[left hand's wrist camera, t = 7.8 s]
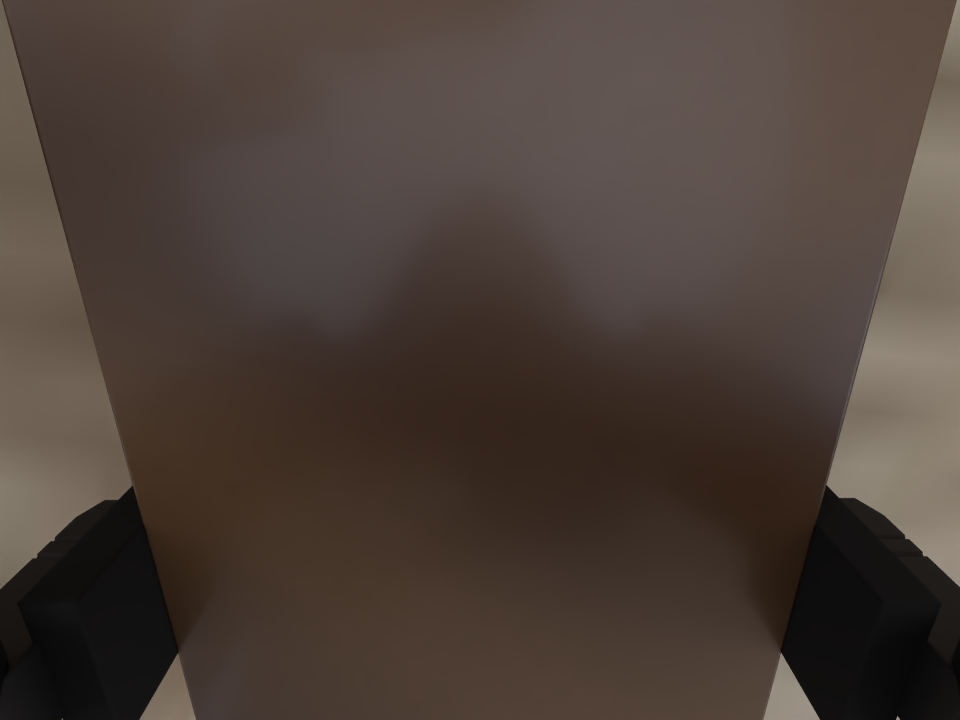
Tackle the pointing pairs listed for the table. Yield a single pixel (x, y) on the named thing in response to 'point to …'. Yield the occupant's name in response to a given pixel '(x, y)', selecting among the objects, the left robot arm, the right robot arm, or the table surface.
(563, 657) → the long brown box
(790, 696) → the table surface
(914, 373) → the table surface
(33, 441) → the table surface
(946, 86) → the table surface
